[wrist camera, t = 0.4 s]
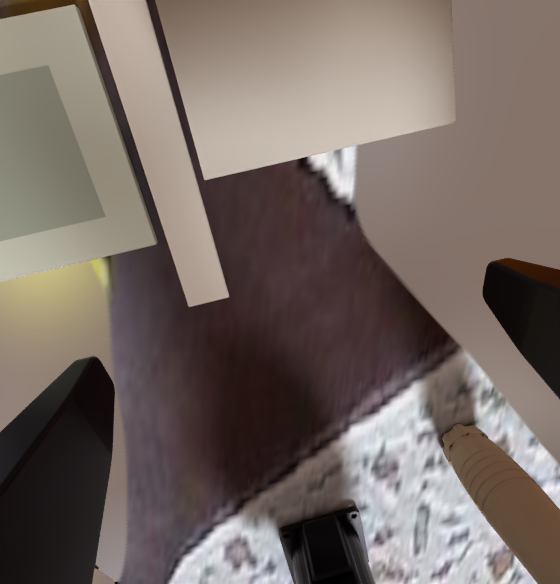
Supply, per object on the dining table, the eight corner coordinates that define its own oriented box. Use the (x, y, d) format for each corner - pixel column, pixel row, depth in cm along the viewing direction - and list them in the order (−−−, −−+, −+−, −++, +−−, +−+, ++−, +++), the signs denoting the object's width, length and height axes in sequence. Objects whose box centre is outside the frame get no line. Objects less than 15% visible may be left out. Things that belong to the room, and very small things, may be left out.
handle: (459, 395, 28) (700, 637, 14) (504, 438, 30) (750, 687, 16) (410, 437, 28) (591, 708, 14) (457, 477, 31) (654, 747, 17)
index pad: (158, 242, 21) (156, 244, 20) (-25, 285, 20) (-32, 289, 20) (79, 9, 17) (74, 4, 16) (-149, 54, 16) (-163, 51, 16)
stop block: (317, 143, 20) (455, 122, 8) (216, 166, 20) (204, 180, 8) (297, 22, 18) (442, -241, 6) (185, 46, 18) (104, -184, 6)
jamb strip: (228, 294, 23) (229, 297, 22) (189, 304, 22) (188, 307, 22) (137, -31, 17) (135, -36, 16) (83, -20, 17) (80, -26, 16)
